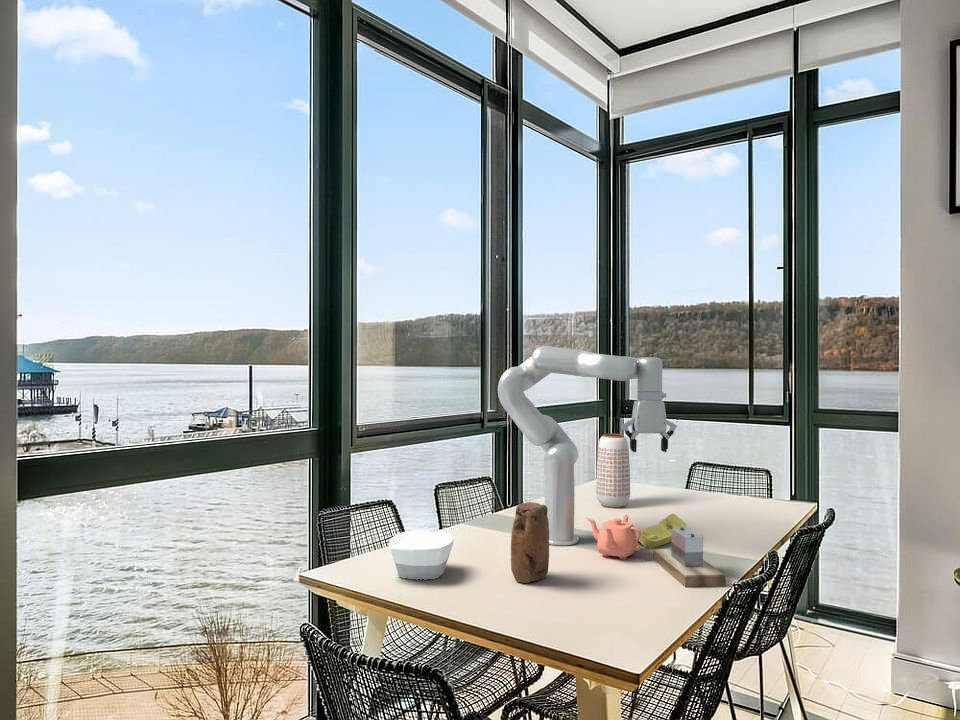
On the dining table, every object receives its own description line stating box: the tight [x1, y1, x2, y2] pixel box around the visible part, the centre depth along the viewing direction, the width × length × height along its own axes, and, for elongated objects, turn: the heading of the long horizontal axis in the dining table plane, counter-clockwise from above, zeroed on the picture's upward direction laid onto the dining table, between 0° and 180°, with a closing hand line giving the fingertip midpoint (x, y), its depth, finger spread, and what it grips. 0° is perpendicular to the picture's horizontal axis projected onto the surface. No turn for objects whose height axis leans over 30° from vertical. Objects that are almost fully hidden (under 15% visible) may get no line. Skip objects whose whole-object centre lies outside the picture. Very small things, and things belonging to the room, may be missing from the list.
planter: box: [595, 433, 631, 509], centre depth 276 cm, size 13×13×28 cm
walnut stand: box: [652, 548, 727, 588], centre depth 195 cm, size 11×24×3 cm, turn 6°
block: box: [510, 501, 550, 584], centre depth 188 cm, size 11×8×20 cm
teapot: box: [585, 514, 642, 561], centre depth 210 cm, size 14×14×11 cm
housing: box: [670, 527, 704, 567], centre depth 195 cm, size 5×10×8 cm, turn 6°
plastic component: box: [633, 513, 687, 549], centre depth 227 cm, size 20×7×10 cm
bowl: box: [388, 531, 455, 581], centre depth 192 cm, size 18×18×9 cm
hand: (648, 451), depth 218 cm, fingers open, 9 cm apart
